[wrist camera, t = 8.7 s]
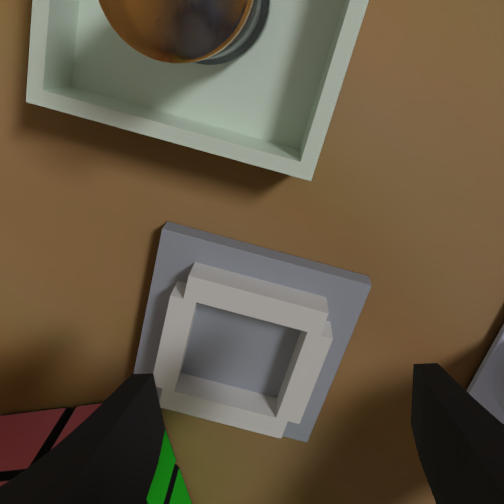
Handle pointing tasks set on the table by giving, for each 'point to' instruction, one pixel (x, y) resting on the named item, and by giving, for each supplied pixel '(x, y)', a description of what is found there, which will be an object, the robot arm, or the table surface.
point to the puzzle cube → (55, 430)
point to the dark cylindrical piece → (189, 28)
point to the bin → (202, 82)
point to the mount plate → (245, 331)
